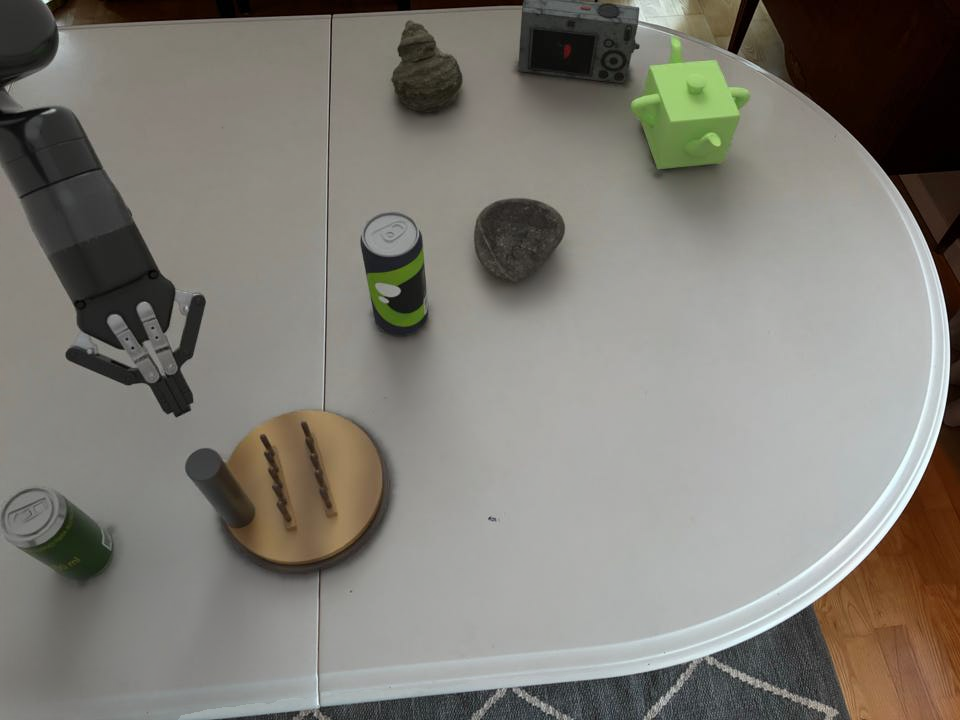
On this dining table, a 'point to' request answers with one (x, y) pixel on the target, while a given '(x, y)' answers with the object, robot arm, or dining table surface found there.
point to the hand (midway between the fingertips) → (183, 412)
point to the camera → (578, 39)
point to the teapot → (688, 111)
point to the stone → (516, 237)
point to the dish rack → (294, 486)
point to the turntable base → (337, 557)
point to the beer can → (55, 532)
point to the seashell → (424, 71)
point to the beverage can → (395, 272)
